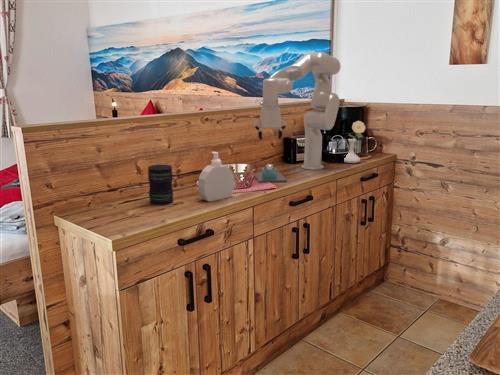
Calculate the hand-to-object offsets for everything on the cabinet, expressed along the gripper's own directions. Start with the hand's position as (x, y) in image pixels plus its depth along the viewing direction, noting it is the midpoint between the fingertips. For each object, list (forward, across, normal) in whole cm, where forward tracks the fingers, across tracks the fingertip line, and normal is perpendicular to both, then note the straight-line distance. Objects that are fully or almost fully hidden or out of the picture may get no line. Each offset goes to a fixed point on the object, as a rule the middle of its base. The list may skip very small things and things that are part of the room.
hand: (270, 139), depth 232 cm
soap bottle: (+20, -30, -35) cm, 50 cm away
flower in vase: (+21, +57, +34) cm, 69 cm away
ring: (+19, 0, 0) cm, 19 cm away
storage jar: (+20, -53, -38) cm, 68 cm away
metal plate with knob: (+20, 0, 0) cm, 20 cm away
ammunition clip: (+20, -26, -23) cm, 40 cm away
